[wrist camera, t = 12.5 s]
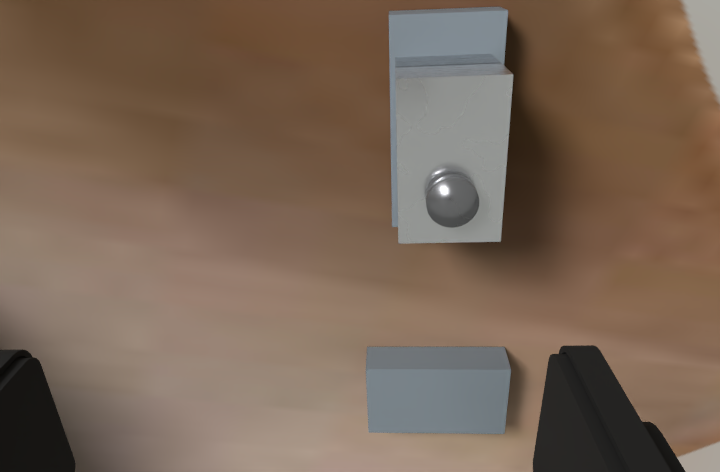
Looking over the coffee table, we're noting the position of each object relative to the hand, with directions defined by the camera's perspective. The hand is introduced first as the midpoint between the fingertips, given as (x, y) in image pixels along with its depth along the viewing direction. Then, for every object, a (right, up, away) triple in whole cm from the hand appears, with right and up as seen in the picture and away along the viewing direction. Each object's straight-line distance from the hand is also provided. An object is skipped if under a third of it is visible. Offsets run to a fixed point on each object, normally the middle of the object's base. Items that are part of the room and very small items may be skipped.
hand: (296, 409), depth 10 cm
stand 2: (+7, -8, +31) cm, 33 cm away
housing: (+6, +9, +20) cm, 23 cm away
